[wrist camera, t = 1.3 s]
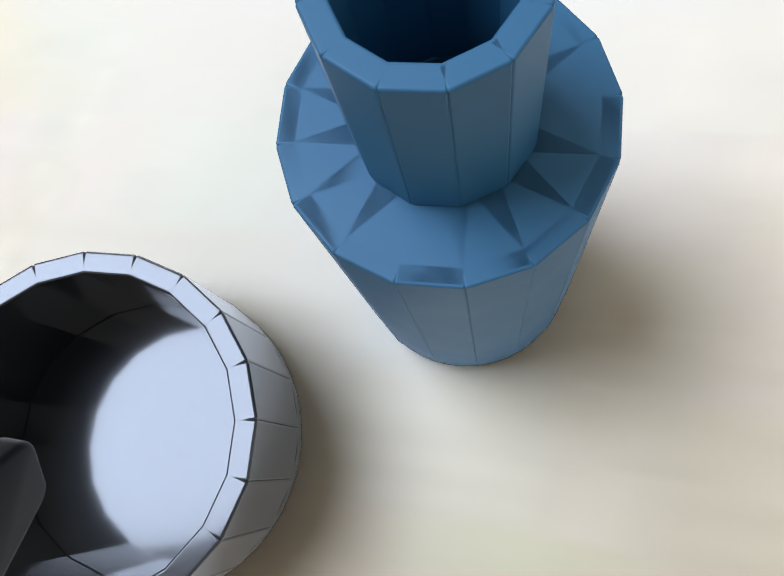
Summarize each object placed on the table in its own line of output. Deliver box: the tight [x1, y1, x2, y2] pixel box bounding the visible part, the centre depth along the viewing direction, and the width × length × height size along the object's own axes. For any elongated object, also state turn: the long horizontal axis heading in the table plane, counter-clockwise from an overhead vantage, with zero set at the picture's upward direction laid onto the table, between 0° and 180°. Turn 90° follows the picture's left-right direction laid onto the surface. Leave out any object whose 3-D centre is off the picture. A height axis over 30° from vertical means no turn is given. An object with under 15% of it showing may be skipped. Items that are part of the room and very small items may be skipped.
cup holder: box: [0, 252, 302, 576], centre depth 20 cm, size 9×9×4 cm
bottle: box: [276, 0, 623, 366], centre depth 16 cm, size 6×6×14 cm
